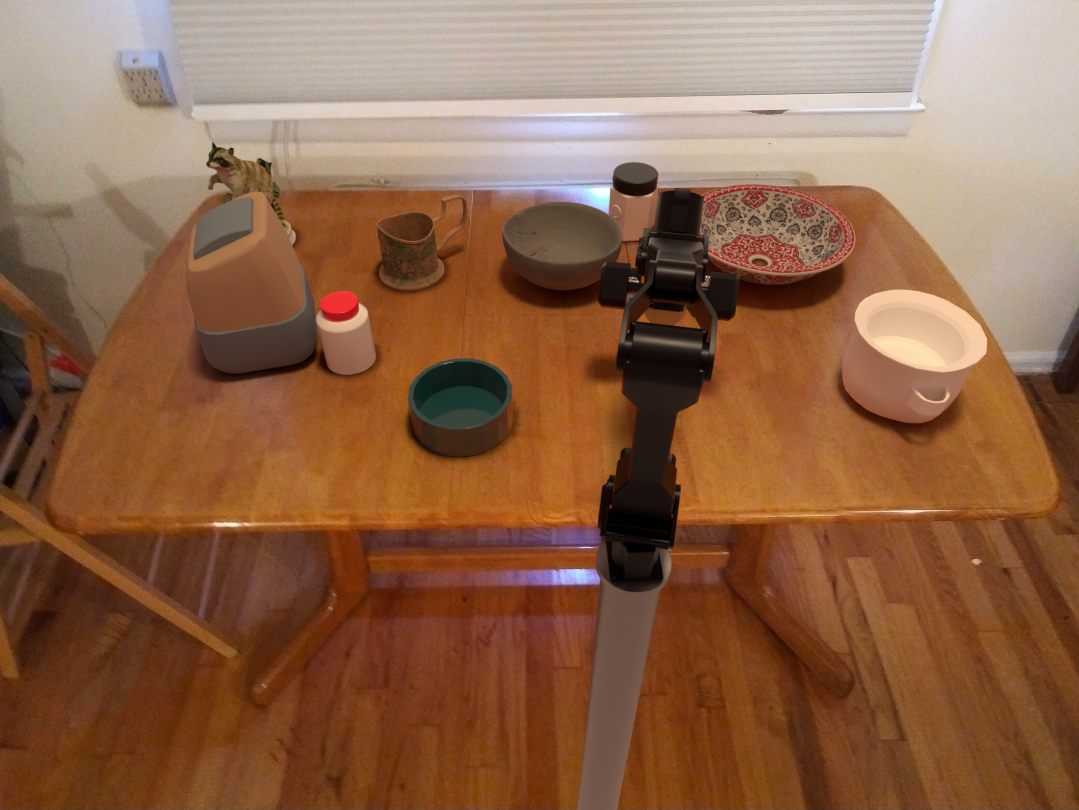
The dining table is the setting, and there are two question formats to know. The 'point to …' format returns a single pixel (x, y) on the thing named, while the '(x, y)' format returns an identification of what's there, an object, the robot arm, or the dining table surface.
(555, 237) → the bowl
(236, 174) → the figurine
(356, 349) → the pill bottle
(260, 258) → the trash can
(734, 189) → the ceramic bowl
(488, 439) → the round teal dish
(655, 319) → the light bulb
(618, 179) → the jar
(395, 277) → the mug
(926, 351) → the pot
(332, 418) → the dining table surface
